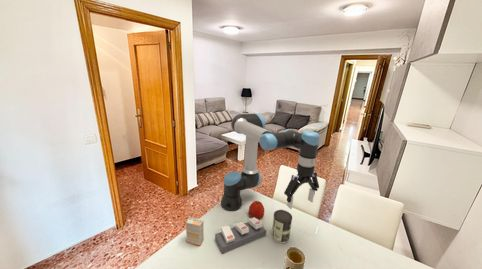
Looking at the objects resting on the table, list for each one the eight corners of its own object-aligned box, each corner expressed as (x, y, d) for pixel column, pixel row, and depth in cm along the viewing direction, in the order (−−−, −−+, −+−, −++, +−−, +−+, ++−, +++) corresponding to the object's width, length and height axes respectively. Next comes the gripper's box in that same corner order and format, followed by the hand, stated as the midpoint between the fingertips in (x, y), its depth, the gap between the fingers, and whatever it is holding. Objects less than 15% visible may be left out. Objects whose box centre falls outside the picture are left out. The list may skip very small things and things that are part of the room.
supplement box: (204, 239, 106) (204, 219, 102) (200, 246, 101) (199, 225, 98) (190, 236, 108) (190, 216, 104) (186, 242, 103) (185, 222, 100)
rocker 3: (248, 223, 114) (248, 219, 114) (254, 221, 116) (254, 216, 116) (255, 229, 107) (255, 224, 107) (262, 226, 109) (262, 222, 109)
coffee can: (289, 231, 115) (291, 211, 112) (289, 244, 105) (292, 223, 102) (271, 228, 117) (274, 208, 113) (271, 241, 107) (273, 219, 104)
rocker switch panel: (215, 239, 106) (215, 232, 105) (256, 224, 120) (257, 217, 118) (222, 254, 98) (222, 246, 96) (266, 235, 111) (267, 228, 110)
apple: (257, 209, 134) (258, 195, 131) (267, 217, 126) (268, 203, 123) (245, 213, 129) (246, 200, 126) (254, 223, 120) (255, 208, 118)
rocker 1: (220, 230, 105) (221, 227, 104) (228, 227, 107) (228, 224, 106) (226, 243, 99) (227, 240, 98) (234, 240, 101) (234, 237, 100)
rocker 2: (235, 228, 110) (234, 223, 110) (241, 225, 112) (241, 221, 112) (241, 234, 103) (241, 230, 103) (248, 231, 105) (248, 227, 105)
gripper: (290, 172, 80) (284, 215, 86) (331, 163, 91) (324, 202, 97) (279, 165, 87) (275, 205, 92) (319, 158, 98) (312, 194, 103)
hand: (300, 204), depth 95 cm, fingers open, 13 cm apart
